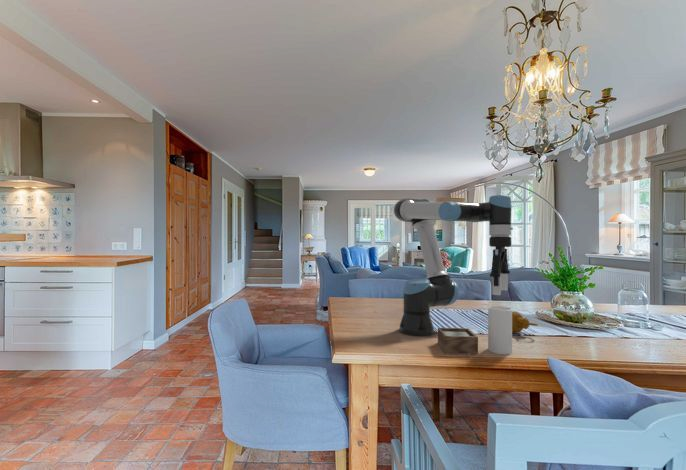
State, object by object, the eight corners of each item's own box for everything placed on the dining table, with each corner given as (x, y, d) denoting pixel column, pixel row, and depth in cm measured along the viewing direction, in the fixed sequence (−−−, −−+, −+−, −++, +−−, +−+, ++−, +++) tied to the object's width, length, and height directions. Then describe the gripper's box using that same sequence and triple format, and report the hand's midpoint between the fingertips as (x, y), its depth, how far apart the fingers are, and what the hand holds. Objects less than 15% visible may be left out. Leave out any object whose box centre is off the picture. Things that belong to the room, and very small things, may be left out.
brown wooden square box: (444, 353, 125) (444, 336, 125) (437, 343, 137) (437, 327, 137) (477, 354, 124) (477, 337, 124) (468, 343, 136) (468, 328, 136)
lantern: (481, 327, 163) (528, 334, 140) (482, 308, 165) (529, 312, 142) (495, 329, 166) (543, 337, 144) (496, 311, 168) (544, 315, 145)
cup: (514, 355, 123) (514, 311, 123) (490, 353, 125) (490, 309, 125) (508, 347, 131) (508, 306, 131) (486, 346, 133) (486, 305, 133)
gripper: (504, 236, 116) (505, 298, 116) (516, 236, 136) (516, 289, 136) (481, 236, 120) (481, 296, 120) (496, 236, 141) (496, 287, 141)
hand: (500, 292), depth 128 cm, fingers open, 13 cm apart
